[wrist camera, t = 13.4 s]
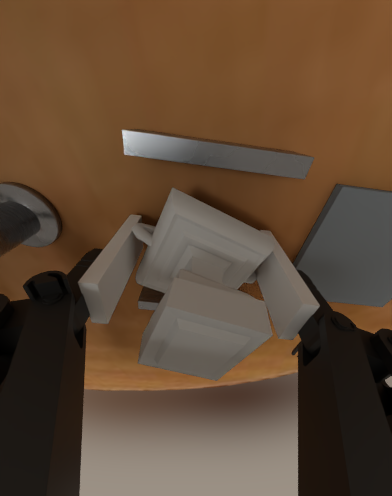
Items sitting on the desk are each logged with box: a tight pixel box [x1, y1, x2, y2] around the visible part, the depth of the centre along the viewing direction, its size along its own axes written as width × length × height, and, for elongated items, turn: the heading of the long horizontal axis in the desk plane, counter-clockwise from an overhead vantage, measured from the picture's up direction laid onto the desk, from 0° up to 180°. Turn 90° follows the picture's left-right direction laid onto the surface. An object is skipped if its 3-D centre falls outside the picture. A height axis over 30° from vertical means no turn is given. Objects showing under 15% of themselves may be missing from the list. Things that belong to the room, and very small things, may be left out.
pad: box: [293, 184, 392, 307], centre depth 14 cm, size 10×10×1 cm
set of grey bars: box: [0, 129, 314, 310], centre depth 10 cm, size 20×13×10 cm, turn 83°
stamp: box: [132, 187, 275, 381], centre depth 10 cm, size 9×7×8 cm
